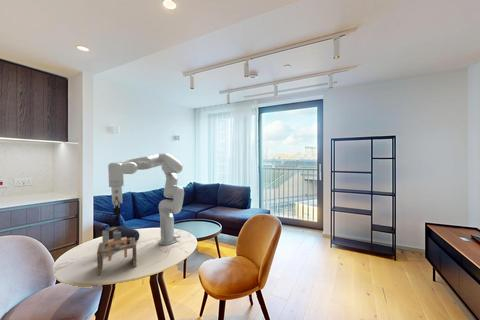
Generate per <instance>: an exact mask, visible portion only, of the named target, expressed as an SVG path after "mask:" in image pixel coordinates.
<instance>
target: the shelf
mask: <svg viewBox="0 0 480 320" xmlns="http://www.w3.org/2000/svg"><path fill="white" fill-rule="evenodd" d="M127 242H130V244H129V243H127V245H124V244H123V245H121V244H122V243H119V244H114V245H115V247H112V248H106V249H105V246H108V242H103V243H102V242H99V244H98V247H97V251H96V252H97V253H96V257H97V258H96V260H97V261H96V263H97V265H96V266H97V270H96V271H97V276H98V277H100V276H102V272H103V265H104V255H103V254H104V253H110V252H115V251H118V252H120V251H124V250H126V249H127V250H130V249H132V263H133V268H137V242H136V241H135V237H133V238H127Z"/></svg>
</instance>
